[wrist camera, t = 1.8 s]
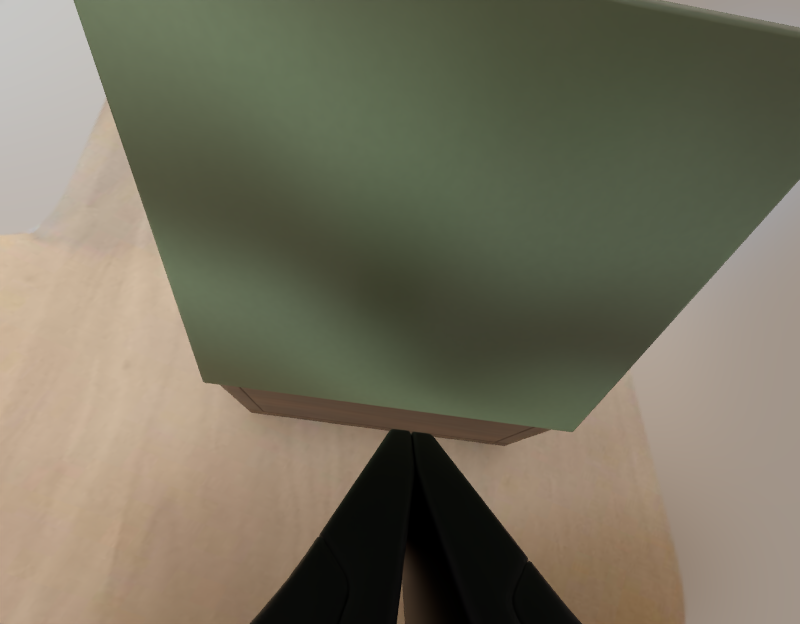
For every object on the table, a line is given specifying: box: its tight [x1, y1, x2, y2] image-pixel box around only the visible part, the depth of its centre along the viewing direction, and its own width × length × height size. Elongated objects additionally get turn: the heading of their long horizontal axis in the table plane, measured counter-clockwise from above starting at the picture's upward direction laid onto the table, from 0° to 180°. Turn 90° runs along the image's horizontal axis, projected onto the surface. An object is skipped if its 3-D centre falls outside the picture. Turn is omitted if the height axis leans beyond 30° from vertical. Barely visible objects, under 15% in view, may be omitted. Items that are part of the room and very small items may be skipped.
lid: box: [74, 0, 800, 432], centre depth 11 cm, size 12×14×1 cm
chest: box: [221, 385, 551, 446], centre depth 21 cm, size 12×14×7 cm
